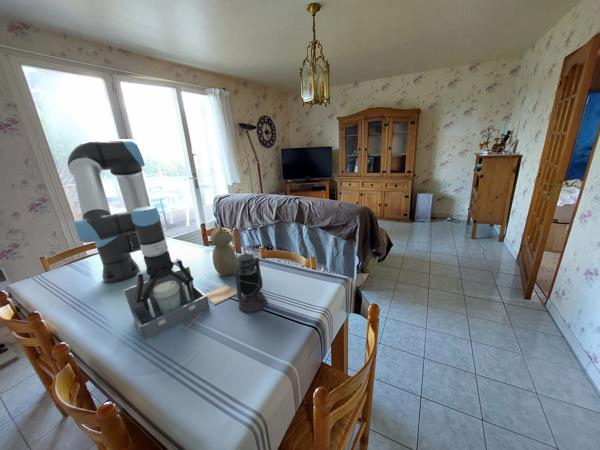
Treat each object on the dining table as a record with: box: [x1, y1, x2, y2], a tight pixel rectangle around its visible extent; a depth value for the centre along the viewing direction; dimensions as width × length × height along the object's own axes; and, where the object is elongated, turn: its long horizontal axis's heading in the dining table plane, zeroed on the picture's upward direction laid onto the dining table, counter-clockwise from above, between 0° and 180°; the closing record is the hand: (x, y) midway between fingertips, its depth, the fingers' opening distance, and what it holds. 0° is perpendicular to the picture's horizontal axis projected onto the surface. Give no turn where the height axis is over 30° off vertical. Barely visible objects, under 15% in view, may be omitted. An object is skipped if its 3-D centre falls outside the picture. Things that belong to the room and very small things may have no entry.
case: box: [123, 265, 210, 341], centre depth 89 cm, size 15×22×13 cm, turn 134°
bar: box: [180, 311, 203, 334], centre depth 86 cm, size 10×1×1 cm, turn 166°
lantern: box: [233, 229, 268, 315], centre depth 88 cm, size 12×11×30 cm
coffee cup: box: [153, 281, 182, 316], centre depth 89 cm, size 8×8×12 cm
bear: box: [209, 221, 240, 277], centre depth 116 cm, size 21×16×25 cm
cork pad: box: [204, 284, 238, 306], centre depth 101 cm, size 10×10×1 cm
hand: (171, 307), depth 90 cm, fingers open, 11 cm apart
